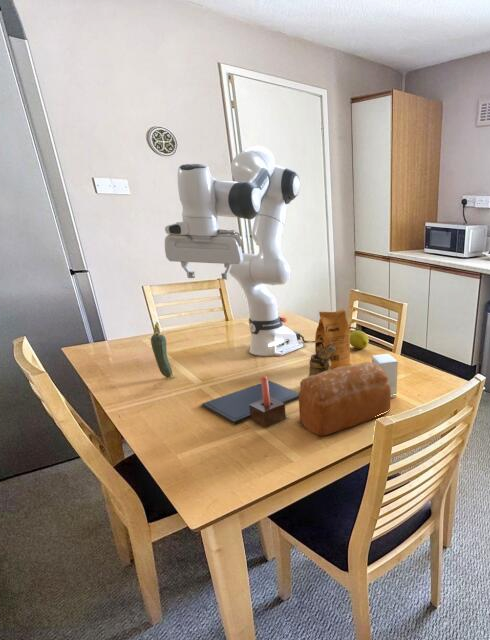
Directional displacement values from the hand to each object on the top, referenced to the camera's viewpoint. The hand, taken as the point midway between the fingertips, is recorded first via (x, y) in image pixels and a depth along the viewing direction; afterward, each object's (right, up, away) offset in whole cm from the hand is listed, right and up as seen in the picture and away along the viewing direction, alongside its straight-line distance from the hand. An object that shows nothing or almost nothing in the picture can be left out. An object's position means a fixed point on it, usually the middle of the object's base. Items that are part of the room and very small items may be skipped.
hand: (208, 278), depth 120 cm
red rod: (+18, -41, 0) cm, 45 cm away
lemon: (+36, -15, +62) cm, 73 cm away
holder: (+18, -41, 0) cm, 45 cm away
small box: (+50, -35, +20) cm, 64 cm away
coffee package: (+28, -24, +41) cm, 55 cm away
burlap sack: (+29, -33, +21) cm, 49 cm away
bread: (+40, -41, +3) cm, 58 cm away
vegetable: (-26, -29, +22) cm, 45 cm away
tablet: (+10, -37, +9) cm, 39 cm away
